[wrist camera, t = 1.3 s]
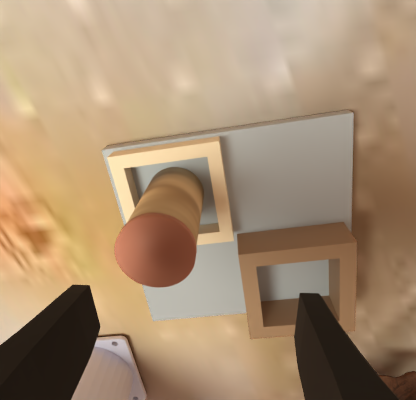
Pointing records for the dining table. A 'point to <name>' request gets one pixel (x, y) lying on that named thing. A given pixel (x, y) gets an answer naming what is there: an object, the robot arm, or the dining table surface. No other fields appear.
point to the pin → (162, 230)
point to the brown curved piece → (402, 385)
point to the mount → (257, 218)
